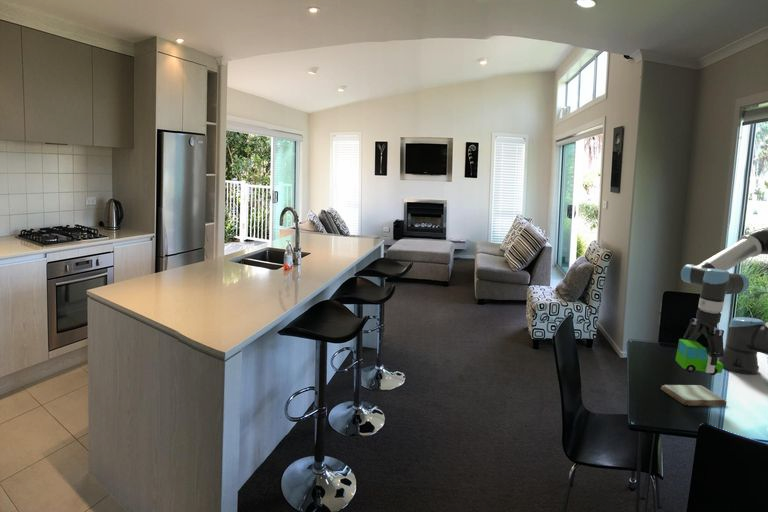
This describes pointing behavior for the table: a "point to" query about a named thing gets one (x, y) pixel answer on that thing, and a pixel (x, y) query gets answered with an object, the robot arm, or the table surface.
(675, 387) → the wooden board
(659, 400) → the table surface
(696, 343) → the toy car
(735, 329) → the robot arm
